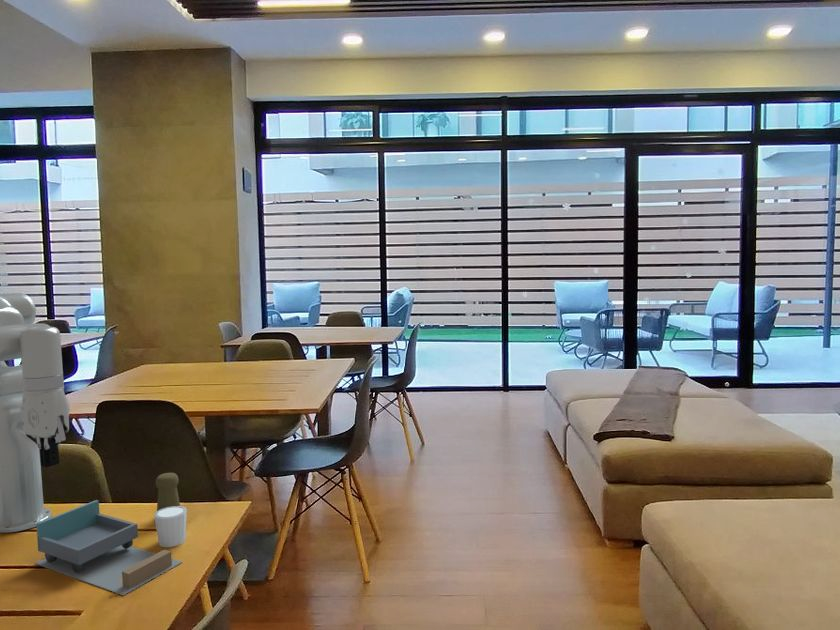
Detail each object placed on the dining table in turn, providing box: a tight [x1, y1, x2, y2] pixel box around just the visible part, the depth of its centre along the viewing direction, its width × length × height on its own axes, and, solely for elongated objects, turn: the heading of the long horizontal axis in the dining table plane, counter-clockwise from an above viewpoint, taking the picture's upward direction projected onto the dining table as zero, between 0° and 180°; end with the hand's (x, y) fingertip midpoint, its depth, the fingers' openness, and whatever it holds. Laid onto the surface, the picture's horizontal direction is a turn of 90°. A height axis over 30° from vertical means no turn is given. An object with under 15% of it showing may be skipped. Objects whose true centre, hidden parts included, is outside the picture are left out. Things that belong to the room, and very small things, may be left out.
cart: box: [35, 499, 139, 573], centre depth 132 cm, size 14×14×8 cm
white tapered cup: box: [153, 505, 188, 548], centre depth 139 cm, size 7×7×7 cm
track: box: [34, 545, 183, 597], centre depth 129 cm, size 28×14×3 cm, turn 63°
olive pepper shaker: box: [155, 472, 181, 512], centre depth 151 cm, size 6×6×11 cm
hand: (50, 465), depth 136 cm, fingers closed
